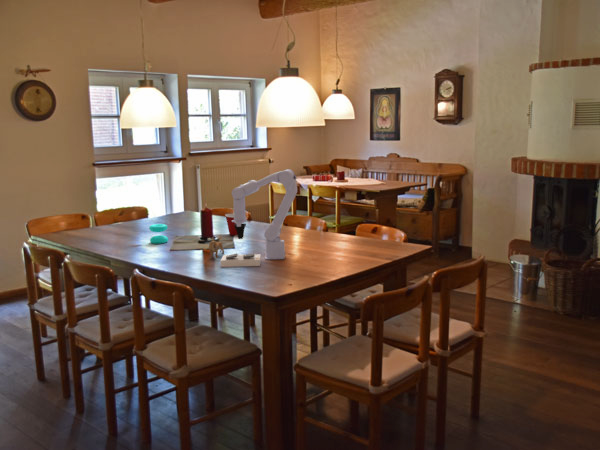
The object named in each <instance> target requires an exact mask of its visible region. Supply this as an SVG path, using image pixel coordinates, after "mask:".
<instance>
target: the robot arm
mask: <svg viewBox="0 0 600 450" xmlns="http://www.w3.org/2000/svg"><path fill="white" fill-rule="evenodd" d="M273 182H276V183H279V182H280V183H281V184H282V186H284V189H285V194H284V196H283V199H282V200H281V203H280V204H279V207H278V209H277V211H276V214H275V215H274V217H273V220H272V222H271V223H270V225H269V227H268V228H266V229H265V231H264V237H265V238H264V239H265V257H264V259H265V261H266V260H285V256H286V250H285V248H286V247H285V239H281V238H280V235H281V233H282V232H281V231H282V226H283V223H284V221H285V219H286V217H287V215H288V212H289V210H290V208H291V206H292V204H293V202H294V200H295V198H296V196H297V193H298V181H297V176H296V174H295V172H294V170H292V169H289V168H287V169H285V170H281V171H278V172H274V173H271V174H269V175H267V176H265V177H264V178H261V179H259V180H255V179H250V180H248V181H247V182H246V183H244V184H243V183H242V184H241V183H240V184H239V186H237V187H236V186H235V188H233V189H232V190H231V196H232V198H233V201H232V202H233V203H232V204H233V214H234V220H232V222H234V223H236V224H235V225H234V227H235V229H236V231H237V235H236V236H237V238H238V239H239V240H243V239H244V233H245V228H246V225H247V223H246V222H247V217H246V216H247V215H246V213H247V212H246V197H247V196H250V195H252V194H254V193H256V192H258V191H259V189H260V188H261V187H263V186H265V185H268V184H270V183H273Z"/></svg>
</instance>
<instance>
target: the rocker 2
mask: <svg viewBox="0 0 600 450" xmlns="http://www.w3.org/2000/svg"><path fill="white" fill-rule="evenodd" d="M243 255H244V256H243V258H244V259H245V258H248V259H250V258H251V257H254V256H255V253H254V252H253V253H247V254H243Z"/></svg>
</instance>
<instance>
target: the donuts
mask: <svg viewBox="0 0 600 450" xmlns="http://www.w3.org/2000/svg"><path fill="white" fill-rule="evenodd" d="M166 230H168V225H167V224H164V223H157V224H156V223H154V224H151V225H150V226H149V231H151V232H153V233H162V232H165V231H166ZM168 241H169V238H168V236H167V235H154V236H151V238H150V239H149V242H150V243H151V244H153V245H155V244H157V245H159V244H164V243H165V244H166V243H168Z"/></svg>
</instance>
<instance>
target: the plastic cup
mask: <svg viewBox="0 0 600 450" xmlns="http://www.w3.org/2000/svg"><path fill="white" fill-rule="evenodd" d="M224 216H225V219H226V224H227V229H228V234H229V235H230V236H238V235H237V231H236V229H235V227H234V225H235V224H236V223H234V222H232V220H234V213H225V215H224Z"/></svg>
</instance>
